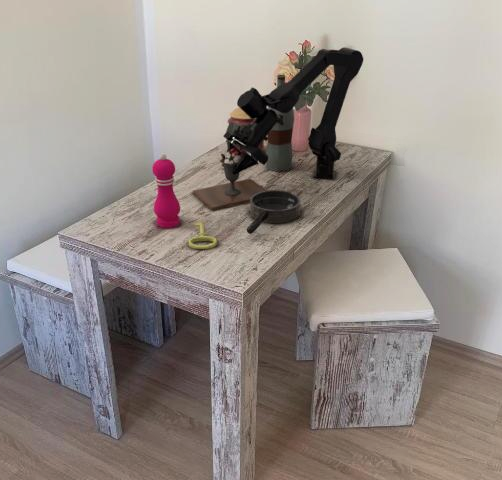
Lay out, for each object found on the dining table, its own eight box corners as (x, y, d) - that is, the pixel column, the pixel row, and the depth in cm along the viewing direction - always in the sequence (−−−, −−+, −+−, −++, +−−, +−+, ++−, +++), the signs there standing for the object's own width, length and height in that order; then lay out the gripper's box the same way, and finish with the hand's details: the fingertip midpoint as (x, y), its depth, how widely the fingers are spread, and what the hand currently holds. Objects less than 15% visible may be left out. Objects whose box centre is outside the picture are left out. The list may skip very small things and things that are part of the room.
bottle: (271, 160, 201) (273, 71, 186) (296, 164, 198) (300, 73, 182) (260, 169, 194) (262, 77, 178) (286, 173, 191) (289, 80, 175)
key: (203, 227, 158) (202, 219, 157) (219, 246, 149) (219, 239, 147) (178, 232, 156) (177, 224, 155) (193, 252, 146) (192, 245, 145)
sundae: (248, 192, 175) (247, 144, 167) (231, 198, 172) (229, 149, 164) (234, 185, 180) (233, 138, 172) (217, 191, 176) (215, 144, 168)
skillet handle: (262, 215, 159) (262, 209, 158) (269, 217, 159) (269, 210, 158) (245, 234, 150) (245, 227, 149) (252, 235, 149) (252, 228, 148)
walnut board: (250, 181, 185) (250, 178, 185) (272, 197, 175) (272, 194, 174) (192, 193, 178) (192, 190, 177) (212, 210, 167) (212, 207, 167)
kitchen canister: (237, 145, 215) (237, 97, 206) (269, 150, 211) (270, 101, 201) (221, 156, 205) (220, 106, 196) (255, 161, 201) (255, 110, 191)
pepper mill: (176, 230, 157) (171, 159, 146) (151, 227, 158) (144, 157, 147) (184, 218, 163) (179, 150, 152) (159, 216, 164) (153, 148, 153)
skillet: (256, 200, 173) (256, 188, 171) (303, 205, 170) (303, 192, 168) (245, 221, 161) (245, 208, 159) (295, 226, 158) (296, 213, 156)
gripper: (228, 103, 172) (196, 145, 173) (259, 119, 158) (224, 165, 159) (251, 125, 179) (220, 166, 180) (283, 142, 165) (249, 186, 166)
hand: (227, 170), depth 171 cm, fingers closed on sundae, 6 cm apart
